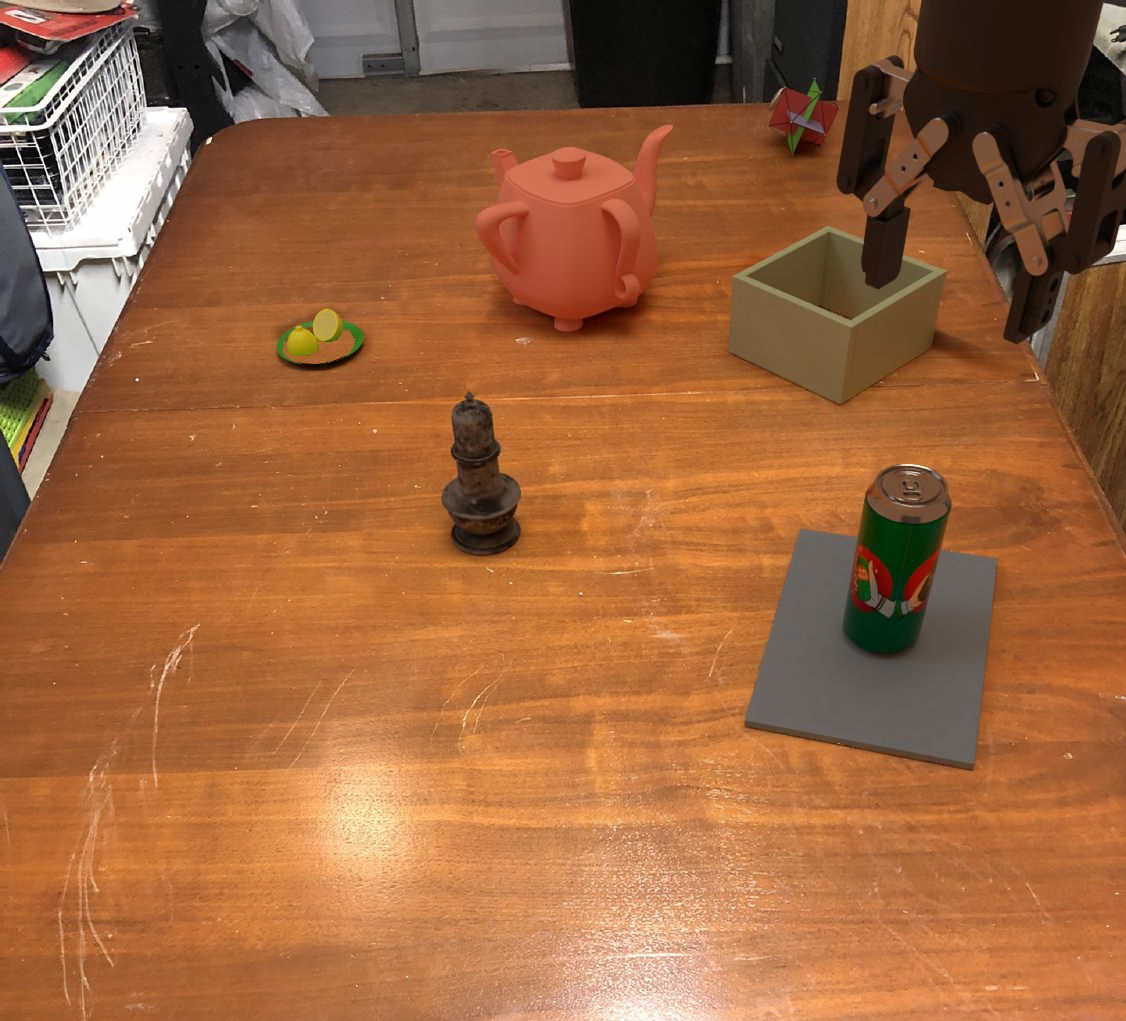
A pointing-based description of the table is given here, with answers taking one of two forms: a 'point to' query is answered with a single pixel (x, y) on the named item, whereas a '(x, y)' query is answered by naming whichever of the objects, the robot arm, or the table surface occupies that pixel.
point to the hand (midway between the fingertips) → (947, 308)
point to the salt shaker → (479, 484)
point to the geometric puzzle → (802, 115)
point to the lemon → (317, 334)
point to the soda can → (896, 558)
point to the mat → (876, 661)
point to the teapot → (574, 230)
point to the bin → (832, 315)
